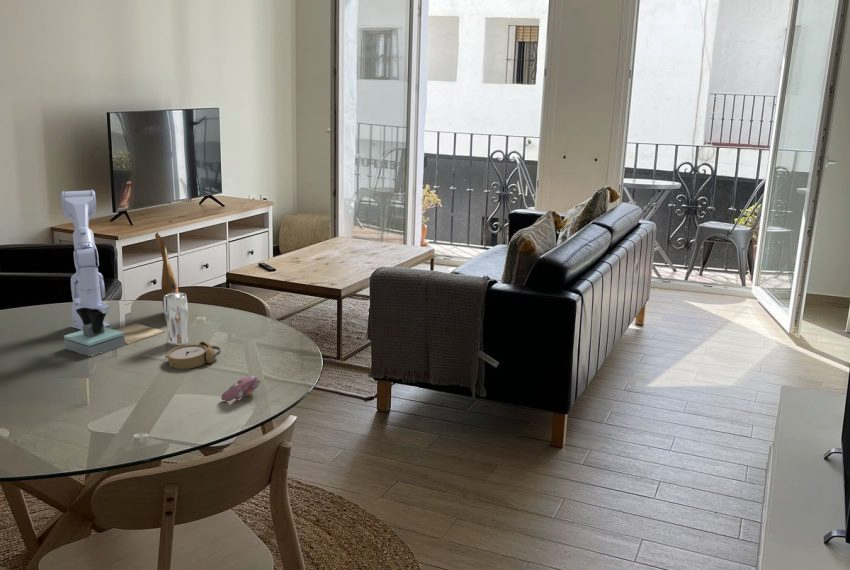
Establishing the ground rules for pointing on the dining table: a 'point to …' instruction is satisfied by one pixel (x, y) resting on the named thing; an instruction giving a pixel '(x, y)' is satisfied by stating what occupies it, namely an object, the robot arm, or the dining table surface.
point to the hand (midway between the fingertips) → (93, 331)
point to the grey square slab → (95, 346)
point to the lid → (93, 335)
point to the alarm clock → (192, 355)
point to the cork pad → (138, 332)
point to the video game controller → (241, 388)
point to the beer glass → (176, 318)
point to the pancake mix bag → (166, 271)
